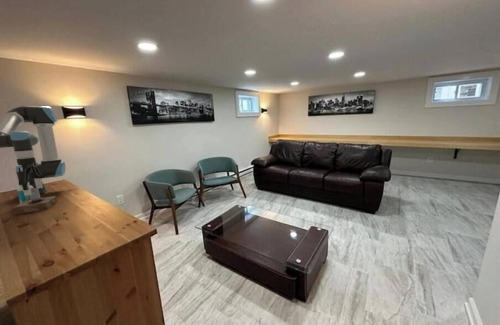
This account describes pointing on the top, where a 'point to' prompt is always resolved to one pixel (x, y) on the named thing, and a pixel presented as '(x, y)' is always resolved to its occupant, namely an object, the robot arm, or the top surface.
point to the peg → (35, 195)
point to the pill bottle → (21, 194)
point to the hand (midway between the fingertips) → (34, 191)
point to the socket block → (35, 205)
